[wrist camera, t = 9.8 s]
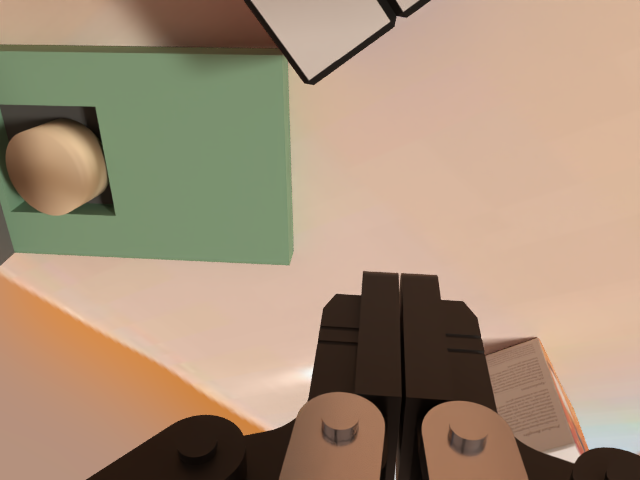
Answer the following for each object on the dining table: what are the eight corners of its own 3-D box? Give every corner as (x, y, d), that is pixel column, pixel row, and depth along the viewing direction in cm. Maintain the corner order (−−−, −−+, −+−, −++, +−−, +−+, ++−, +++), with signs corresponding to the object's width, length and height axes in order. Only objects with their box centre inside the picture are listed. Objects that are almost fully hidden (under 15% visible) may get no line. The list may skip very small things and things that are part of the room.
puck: (30, 116, 40) (-5, 128, 37) (101, 120, 38) (68, 133, 35) (50, 195, 42) (18, 211, 40) (117, 202, 40) (88, 219, 38)
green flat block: (-41, 44, 38) (-97, 60, 34) (287, 48, 36) (273, 66, 32) (14, 238, 45) (-27, 273, 40) (293, 251, 43) (282, 289, 38)
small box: (574, 409, 47) (619, 529, 38) (505, 429, 49) (532, 549, 40) (538, 334, 44) (578, 444, 35) (466, 358, 46) (486, 470, 37)
